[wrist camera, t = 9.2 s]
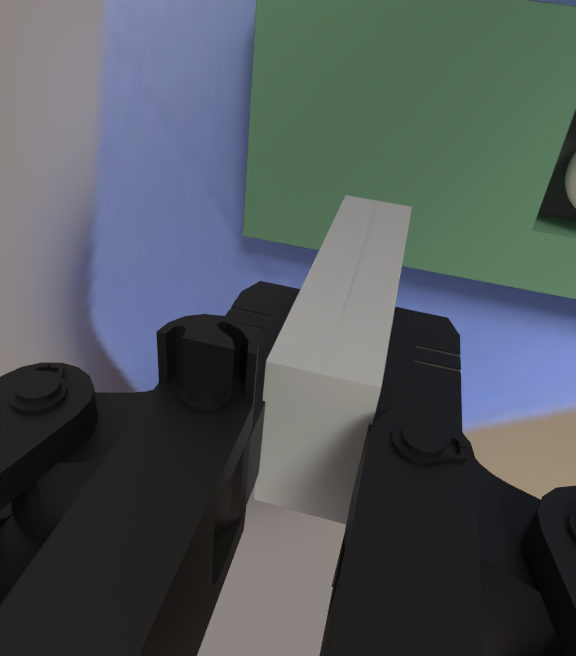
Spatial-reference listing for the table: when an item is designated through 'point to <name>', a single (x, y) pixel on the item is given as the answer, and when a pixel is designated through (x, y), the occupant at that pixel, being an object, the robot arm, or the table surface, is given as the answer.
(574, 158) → the ball
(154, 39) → the table surface
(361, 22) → the green
